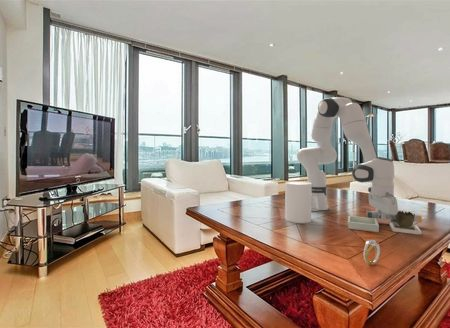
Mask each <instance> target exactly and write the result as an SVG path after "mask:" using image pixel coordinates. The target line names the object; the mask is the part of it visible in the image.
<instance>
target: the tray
mask: <svg viewBox="0 0 450 328" xmlns="http://www.w3.org/2000/svg"><path fill="white" fill-rule="evenodd" d="M347 216H348V217H347V222H348V223H347V229H350V230H358V231H366V232H375V233H376V232H377V233H379V231H380V224H379V221H378V218H367V216H357V215H356V216H355V215H347Z"/></svg>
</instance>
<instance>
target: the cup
mask: <svg viewBox="0 0 450 328" xmlns="http://www.w3.org/2000/svg"><path fill="white" fill-rule="evenodd" d="M398 211H399V212H398V213H397V215H395V216H396V222H397V224H398V225H400V227H399V228H401V229H410V228H409V227H411V226H412V225H413V224H414V223H415V222H414V217H415V215H416V214H415V213H413V212H411V211H408V212H407V210H405V211H403V210H398Z"/></svg>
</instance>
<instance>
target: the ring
mask: <svg viewBox="0 0 450 328" xmlns="http://www.w3.org/2000/svg"><path fill="white" fill-rule="evenodd" d="M376 241H377V240H374V239H368V240H367V241H366V242H365V245H364V249H363V255H362V256H363V260H364V262H365V263H366V264H369V265H372V266H373V265H374V264H376V263H377V261H378V260H379V258H380V253H381V249H380V244H379V243H378V242H376ZM373 248H374V251H375V253H374V258H373V259H372V260H369V259H368V258H369V254H370V253H371V250H372V249H373Z"/></svg>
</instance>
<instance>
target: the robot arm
mask: <svg viewBox="0 0 450 328" xmlns="http://www.w3.org/2000/svg"><path fill="white" fill-rule="evenodd" d="M336 118H339V119H340V121H341V126H342V127H341V128H342V131H343V134H344V137H345V138H346V140H348V141H350V142H352V143H354V145H355V144H356V145H357V146H358V147H359V148H360V150H361V153H362V157H363V159H364V162H363V163H359V164H356V165H355V166H353V168H352V170H351V175H352V178H353V179H354V180H355V181H356V182H357V183H370V182H371V186H370V187H368V188H367V192H368V204H369V206H371V207H373V208H374V209H376V211H378V215H379V218H378V219H379V220H381V221H386V220H387V219H386V215H387V214H388V215H397V213H398V211H399V208H398V200H397V198H396V197H395V184H394V178H395V165H394V161H393V160H392V159H391V158H388V157H381V156H378V153H377V151H376V147H375V145H374V142H373V139H372V137H371V135H370V132H369V129H368V125H367V121H366V117H365V113H364V112H363V108H362V106H361V105H360V104H359V103H357V102H356V100H355V99H353V97H352V98H351V97H343V96H336V97H325V98H323V99H320V101H319V103H318V106H317V110H316V113H315V117H314V120H313V124H312V130H311V135H310V136H311V139H312V140H313V141H314V142H316V144H317V145H316V147H315V146H314V147H311V146H310V147H309V146H308V147H303V148H300V149H299V150H298V151H297V154H296V158H297V161H298V162H299V164H301V166H303V167H304V169H305V171H306V176H307V182H311V183H312V194H311V212H312V211H313V212H318V211H327V210H329V209H330V208H329V205H328V200H327V194H328V187H327V174H326V173H325V171H323V170H321V169H320V168H319V166H320V165H329V164H333V163H335V162H336V161H337V158H338V153H337V151H336V149H335V148H334V147H333V145H332V142H331V137H332V136H331V135H332V132H333V131H332V130H333V125H334V121H335V119H336Z"/></svg>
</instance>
